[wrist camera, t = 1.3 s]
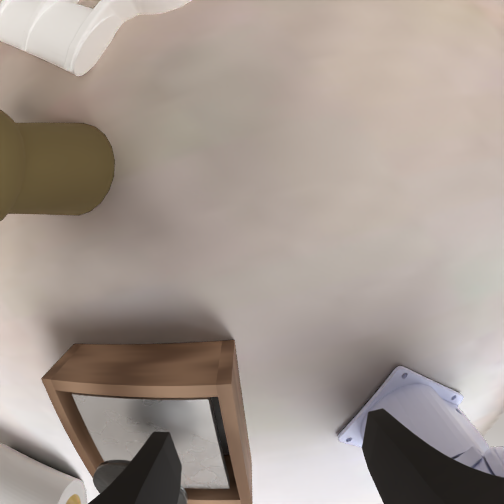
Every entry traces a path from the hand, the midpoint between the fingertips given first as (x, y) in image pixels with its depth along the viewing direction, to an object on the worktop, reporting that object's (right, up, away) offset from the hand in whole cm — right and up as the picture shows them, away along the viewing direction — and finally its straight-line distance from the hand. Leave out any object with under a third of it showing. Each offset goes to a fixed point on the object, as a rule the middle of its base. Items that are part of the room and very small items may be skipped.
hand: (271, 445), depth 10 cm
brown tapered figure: (-12, +12, +8) cm, 19 cm away
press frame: (-7, -5, +12) cm, 15 cm away
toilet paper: (-24, -18, +14) cm, 34 cm away
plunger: (-7, -6, +9) cm, 13 cm away
